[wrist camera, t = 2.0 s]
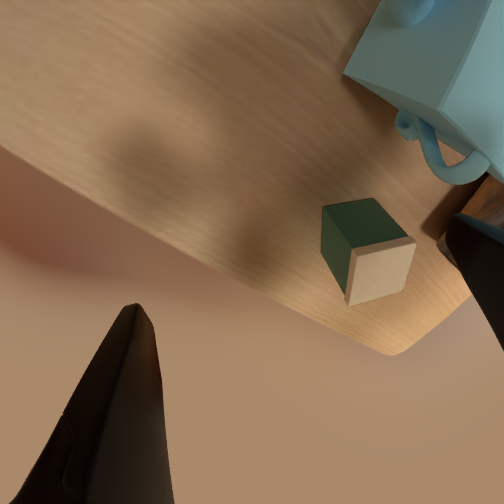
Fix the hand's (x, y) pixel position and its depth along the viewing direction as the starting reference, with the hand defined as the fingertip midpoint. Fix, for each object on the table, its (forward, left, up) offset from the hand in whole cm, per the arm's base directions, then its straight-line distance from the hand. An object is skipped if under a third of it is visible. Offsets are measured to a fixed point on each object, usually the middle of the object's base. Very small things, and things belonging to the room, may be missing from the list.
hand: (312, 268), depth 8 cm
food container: (-8, +9, -13) cm, 18 cm away
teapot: (-12, -6, -13) cm, 19 cm away
